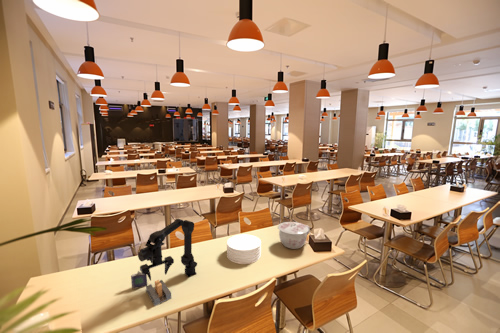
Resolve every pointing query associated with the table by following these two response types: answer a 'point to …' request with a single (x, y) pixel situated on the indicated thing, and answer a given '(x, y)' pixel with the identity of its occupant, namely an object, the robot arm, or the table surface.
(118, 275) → the table surface
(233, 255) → the plate stack
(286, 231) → the chamber pot
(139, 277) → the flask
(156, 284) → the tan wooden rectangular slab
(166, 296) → the rail
